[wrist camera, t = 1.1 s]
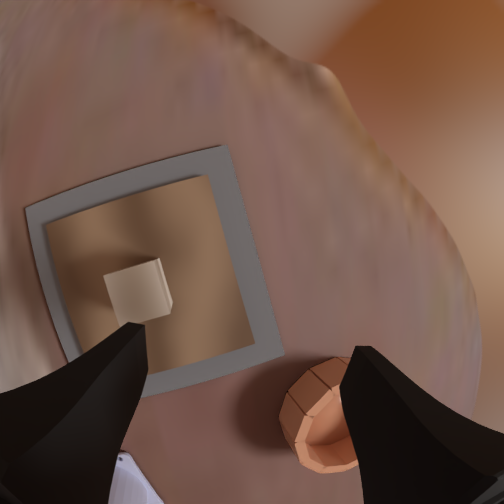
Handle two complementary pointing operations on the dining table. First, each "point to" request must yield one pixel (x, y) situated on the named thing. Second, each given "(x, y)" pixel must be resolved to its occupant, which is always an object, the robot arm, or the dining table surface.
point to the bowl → (319, 419)
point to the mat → (236, 237)
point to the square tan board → (153, 274)
